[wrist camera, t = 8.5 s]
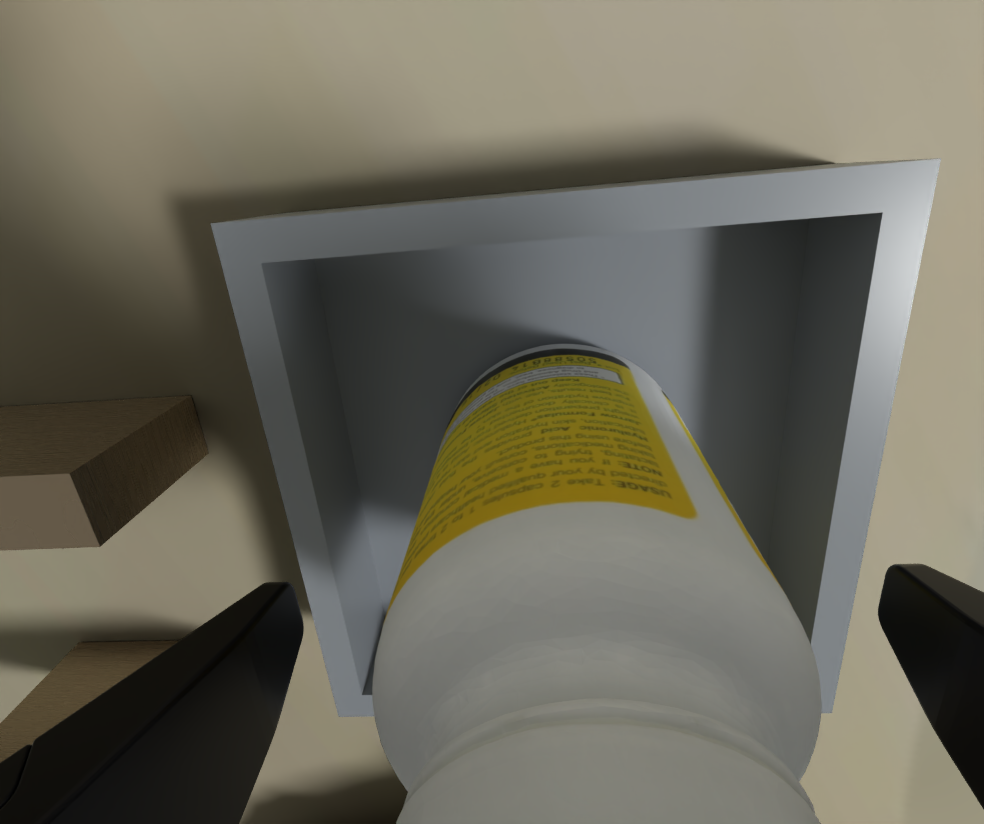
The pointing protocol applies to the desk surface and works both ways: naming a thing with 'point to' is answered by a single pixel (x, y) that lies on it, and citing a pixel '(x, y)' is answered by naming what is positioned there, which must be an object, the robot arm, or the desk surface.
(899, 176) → the tray
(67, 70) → the desk surface
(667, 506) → the supplement bottle
